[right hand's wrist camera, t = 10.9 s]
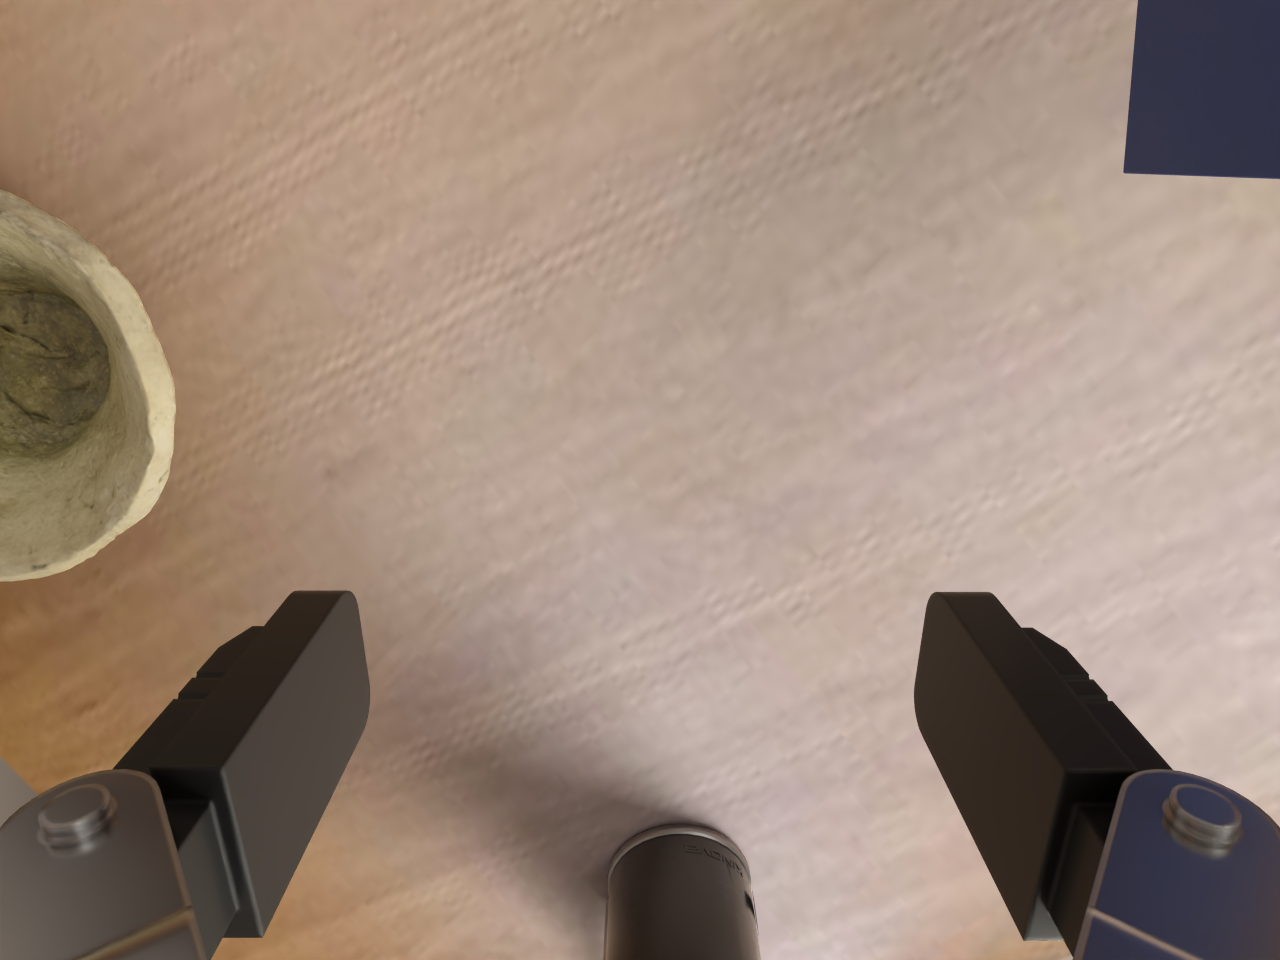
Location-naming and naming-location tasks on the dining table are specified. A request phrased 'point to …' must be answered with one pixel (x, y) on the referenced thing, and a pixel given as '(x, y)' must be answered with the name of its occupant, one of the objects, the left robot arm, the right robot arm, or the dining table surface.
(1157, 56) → the box
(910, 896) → the dining table surface
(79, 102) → the dining table surface
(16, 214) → the bowl
